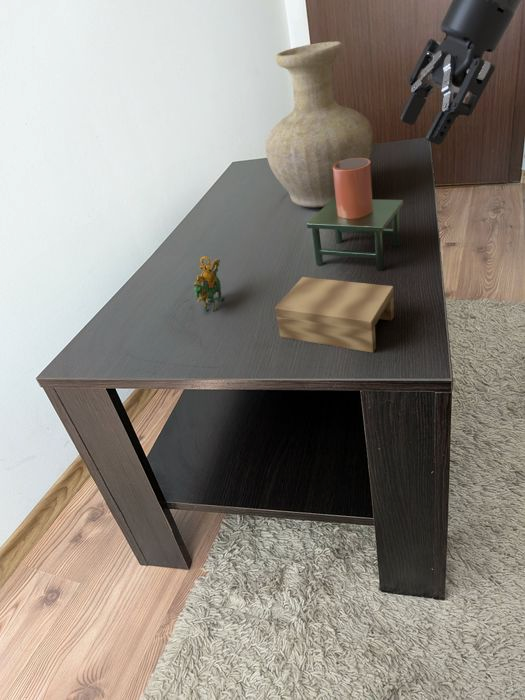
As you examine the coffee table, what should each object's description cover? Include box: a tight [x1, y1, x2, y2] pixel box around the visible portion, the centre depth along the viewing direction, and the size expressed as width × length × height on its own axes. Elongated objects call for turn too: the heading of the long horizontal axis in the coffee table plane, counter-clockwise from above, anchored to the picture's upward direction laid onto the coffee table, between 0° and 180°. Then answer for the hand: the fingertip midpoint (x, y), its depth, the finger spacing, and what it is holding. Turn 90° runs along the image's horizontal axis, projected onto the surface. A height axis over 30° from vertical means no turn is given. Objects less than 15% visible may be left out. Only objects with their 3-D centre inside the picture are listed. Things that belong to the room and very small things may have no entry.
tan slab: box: [274, 276, 395, 354], centre depth 72 cm, size 14×9×5 cm, turn 61°
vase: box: [265, 40, 374, 208], centre depth 106 cm, size 22×22×30 cm
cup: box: [333, 158, 373, 219], centre depth 84 cm, size 6×6×8 cm
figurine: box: [193, 256, 223, 312], centre depth 84 cm, size 3×12×8 cm, turn 167°
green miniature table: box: [306, 199, 404, 272], centre depth 88 cm, size 13×11×8 cm
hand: (418, 132), depth 71 cm, fingers open, 8 cm apart
